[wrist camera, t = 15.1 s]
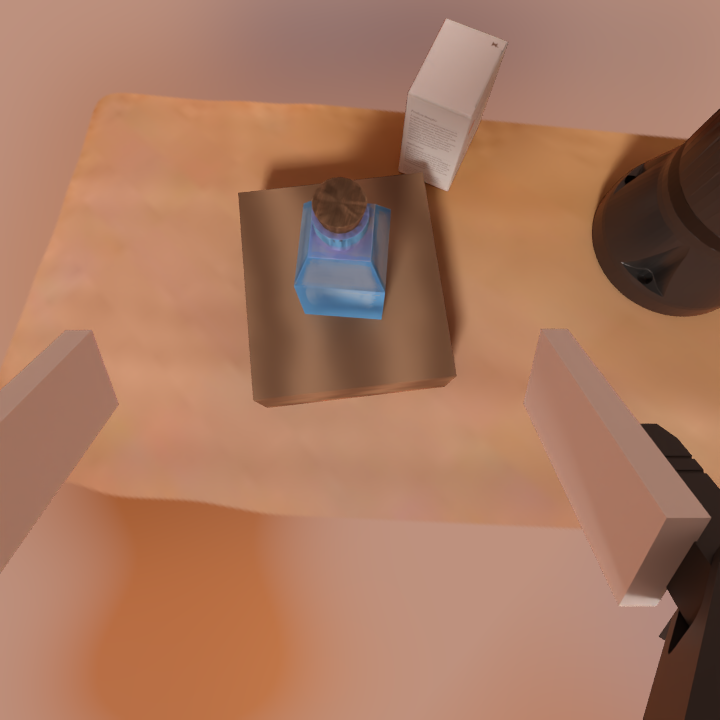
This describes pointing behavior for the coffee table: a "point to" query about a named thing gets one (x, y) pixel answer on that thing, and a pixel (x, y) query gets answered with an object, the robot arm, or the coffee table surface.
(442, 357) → the walnut riser block
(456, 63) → the small box
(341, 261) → the perfume bottle
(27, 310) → the coffee table surface
